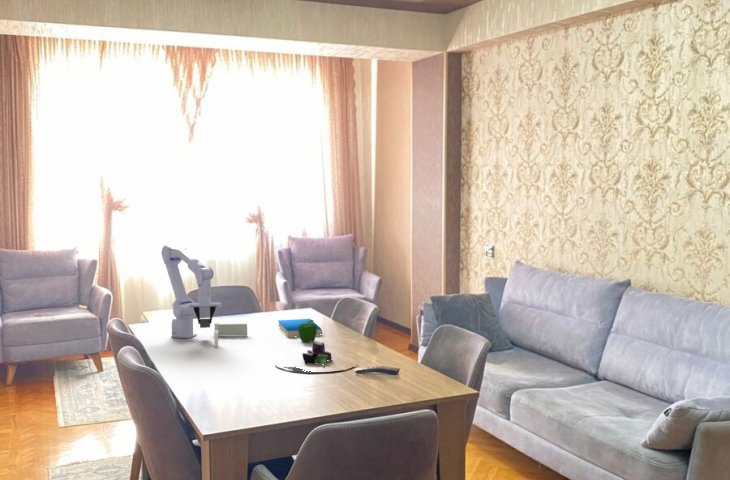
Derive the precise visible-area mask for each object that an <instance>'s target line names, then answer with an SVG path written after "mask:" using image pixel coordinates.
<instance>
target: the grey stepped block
mask: <svg viewBox="0 0 730 480" xmlns="http://www.w3.org/2000/svg"><path fill="white" fill-rule="evenodd" d="M199 328H200V329H203V328H211V323H210V318H200V324H199Z"/></svg>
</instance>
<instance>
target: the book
mask: <svg viewBox="0 0 730 480" xmlns="http://www.w3.org/2000/svg"><path fill="white" fill-rule="evenodd" d="M309 320H312V319H311V318H298V319H279V320H278V321H277V322H278V328H279V327H280V328H279V329H280V330H281V332H282V333H283V332H284V333H285V334H286V335H285V334H284V333H283V334H284V335H285V336H286V337H287V338H288V337H290V338H296V337H295V336H299V326H300V324H305V323H307V322H308V321H309ZM309 324H315V325H316V327H317V333H316V335H320V334H322V335H323V330H322V328H321V327H320V326H319V325H318V324H316V322H315V321H313V322H310V323H309Z"/></svg>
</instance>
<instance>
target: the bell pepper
mask: <svg viewBox="0 0 730 480" xmlns="http://www.w3.org/2000/svg"><path fill="white" fill-rule="evenodd" d="M310 322H315V321H314V319H311V320H309V321H308V322H307V323H305V324H300V326H299V336H300V337H299V339H300V340H301V341H302V342H303V343H310V342H311V341H312V342H315V340H316V337H317V336H316V333H317V327H316V325H315V324H316V323H315V324H309V323H310Z"/></svg>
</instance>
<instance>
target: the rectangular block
mask: <svg viewBox="0 0 730 480" xmlns="http://www.w3.org/2000/svg"><path fill="white" fill-rule="evenodd" d="M218 324H219V320H215V321H214V330H213V331H214V333H213V336H214V337H213V339H214V340H213V341H214V342H213V343H214V344H213V345H214V347H216V348H218V347H219V336H218Z"/></svg>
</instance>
